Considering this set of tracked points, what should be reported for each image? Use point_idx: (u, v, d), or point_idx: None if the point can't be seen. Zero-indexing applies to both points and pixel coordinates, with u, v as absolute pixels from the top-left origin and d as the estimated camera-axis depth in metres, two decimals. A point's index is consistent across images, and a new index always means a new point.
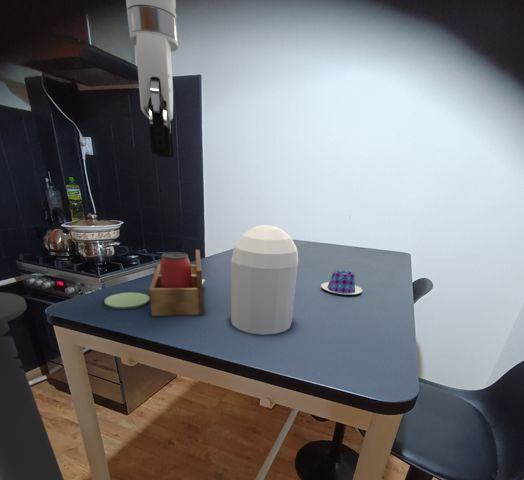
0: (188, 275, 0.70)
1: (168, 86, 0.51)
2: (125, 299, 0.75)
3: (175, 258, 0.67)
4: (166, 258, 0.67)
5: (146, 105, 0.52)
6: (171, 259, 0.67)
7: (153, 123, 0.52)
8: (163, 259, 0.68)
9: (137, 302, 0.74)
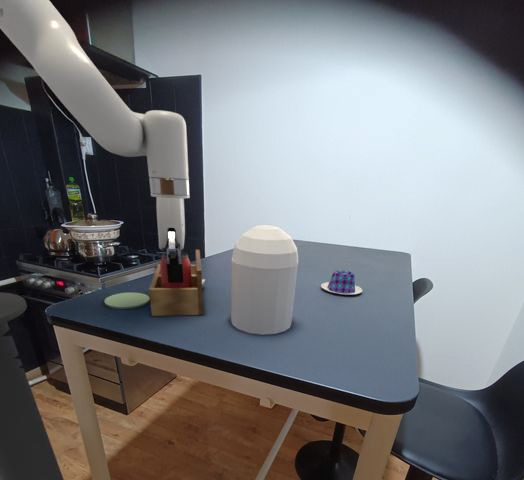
0: (188, 275, 0.70)
1: (182, 232, 0.63)
2: (125, 299, 0.75)
3: None
4: (166, 258, 0.67)
5: (163, 247, 0.63)
6: None
7: (170, 263, 0.65)
8: (163, 259, 0.68)
9: (137, 302, 0.74)
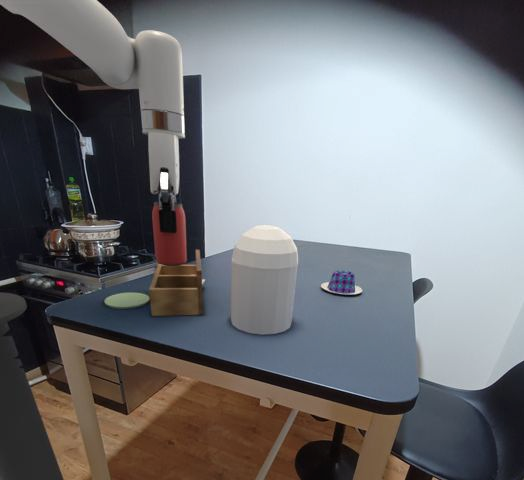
0: (182, 226, 0.65)
1: (175, 174, 0.58)
2: (125, 299, 0.75)
3: None
4: (158, 205, 0.62)
5: (155, 190, 0.58)
6: None
7: (162, 209, 0.60)
8: (155, 207, 0.63)
9: (137, 302, 0.74)
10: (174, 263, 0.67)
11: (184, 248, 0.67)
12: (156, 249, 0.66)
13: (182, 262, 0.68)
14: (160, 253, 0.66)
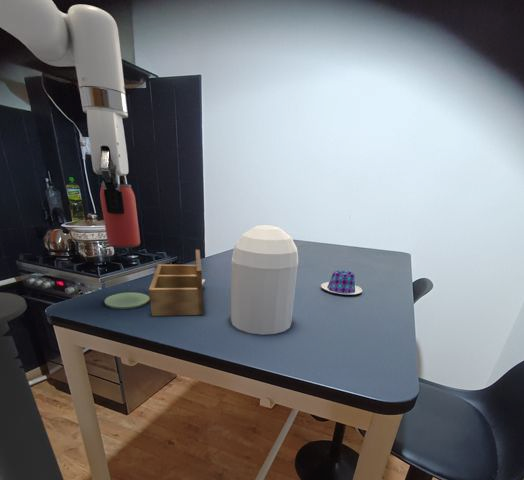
0: (131, 207, 0.65)
1: (117, 152, 0.58)
2: (125, 299, 0.75)
3: None
4: None
5: (98, 169, 0.58)
6: None
7: (106, 189, 0.60)
8: (102, 187, 0.62)
9: (137, 302, 0.74)
10: (125, 245, 0.67)
11: (135, 230, 0.67)
12: (106, 231, 0.66)
13: (134, 244, 0.68)
14: (110, 235, 0.66)
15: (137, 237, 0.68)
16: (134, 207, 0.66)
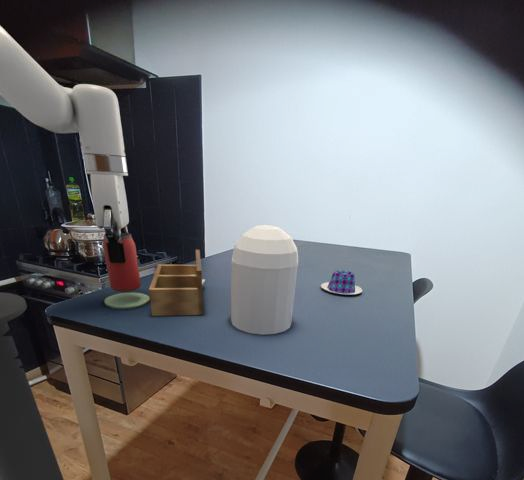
0: (132, 255, 0.69)
1: (118, 210, 0.62)
2: (125, 299, 0.75)
3: None
4: None
5: (101, 225, 0.63)
6: None
7: (109, 242, 0.65)
8: (105, 239, 0.67)
9: (137, 302, 0.74)
10: (126, 289, 0.71)
11: (136, 275, 0.72)
12: (109, 277, 0.71)
13: (135, 288, 0.73)
14: (112, 281, 0.71)
15: (138, 281, 0.73)
16: (134, 254, 0.70)
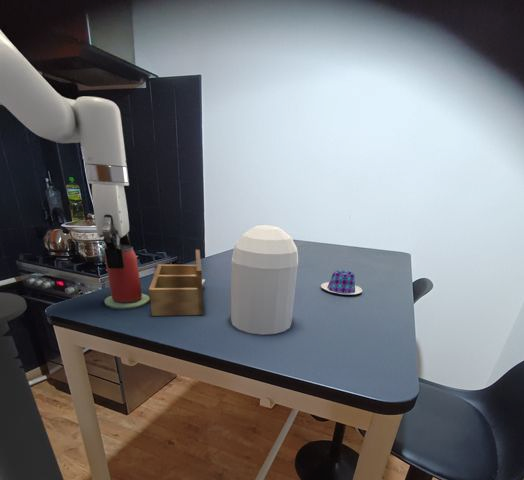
0: (133, 268, 0.71)
1: (119, 219, 0.63)
2: None
3: None
4: None
5: (101, 234, 0.64)
6: None
7: (107, 248, 0.64)
8: None
9: (137, 302, 0.74)
10: (128, 301, 0.73)
11: (137, 286, 0.73)
12: (111, 288, 0.72)
13: (136, 299, 0.74)
14: (114, 292, 0.72)
15: (139, 292, 0.74)
16: (136, 267, 0.72)
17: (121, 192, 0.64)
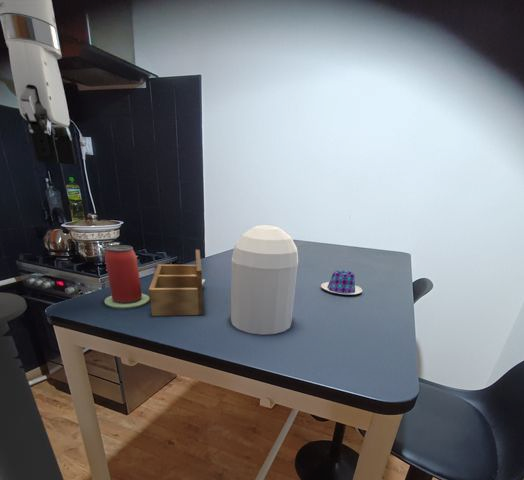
0: (133, 268, 0.71)
1: (47, 94, 0.51)
2: None
3: (118, 251, 0.68)
4: (109, 251, 0.68)
5: (25, 113, 0.51)
6: (114, 252, 0.68)
7: (33, 131, 0.52)
8: (107, 252, 0.68)
9: (137, 302, 0.74)
10: (128, 301, 0.73)
11: (137, 286, 0.73)
12: (111, 288, 0.72)
13: (136, 299, 0.74)
14: (114, 292, 0.72)
15: (139, 292, 0.74)
16: (136, 267, 0.72)
17: (50, 61, 0.51)
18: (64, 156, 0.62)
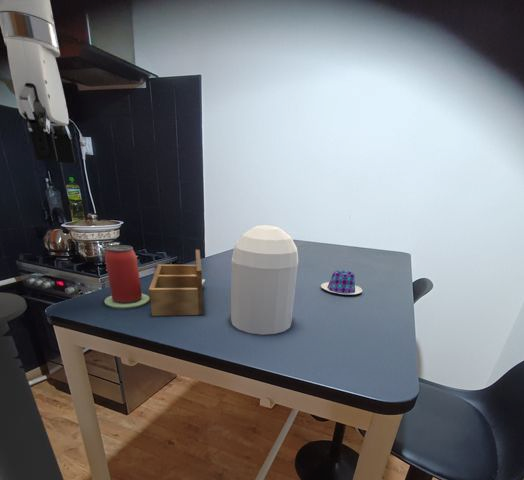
0: (133, 268, 0.71)
1: (46, 92, 0.51)
2: None
3: (118, 251, 0.68)
4: (109, 251, 0.68)
5: None
6: (114, 252, 0.68)
7: (32, 129, 0.52)
8: (107, 252, 0.68)
9: (137, 302, 0.74)
10: (128, 301, 0.73)
11: (137, 286, 0.73)
12: (111, 288, 0.72)
13: (136, 299, 0.74)
14: (114, 292, 0.72)
15: (139, 292, 0.74)
16: (136, 267, 0.72)
17: (48, 59, 0.51)
18: (63, 155, 0.62)
